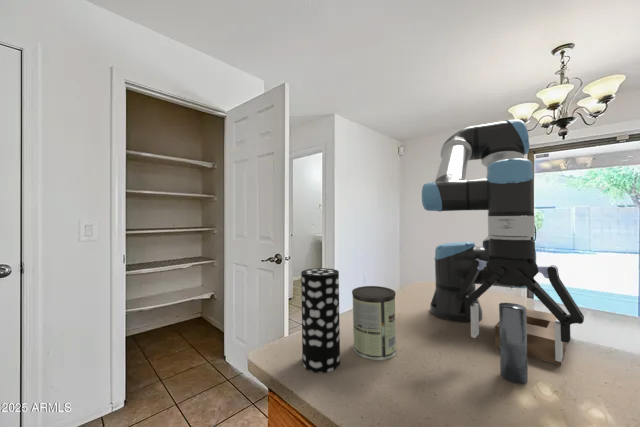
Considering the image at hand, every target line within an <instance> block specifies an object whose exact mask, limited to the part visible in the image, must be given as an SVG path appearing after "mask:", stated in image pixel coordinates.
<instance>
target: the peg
mask: <svg viewBox="0 0 640 427" xmlns="http://www.w3.org/2000/svg"><path fill="white" fill-rule="evenodd" d="M526 309H527V307H526V306H524V305H521V304H517V303H513V302H512V303H511V302H500V303H498V314H499V315H498V318H499V321H498V322H499V328H500V348H499V358H500V359H499V360H500V361H499V366H500V371H499V372H500V376H501V377H502V378H503V379H504V380H505V381H507V382H509V381H510V383H513V384H517V385H526V384H527V382H529V374H528V373H529V372H528V369H529V367H528V365H529V364H528V356H527V320H526Z"/></svg>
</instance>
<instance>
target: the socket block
mask: <svg viewBox="0 0 640 427" xmlns="http://www.w3.org/2000/svg"><path fill="white" fill-rule="evenodd" d="M556 319H557V318H556V317H555V316H554V315H553V314H552V313H551V312H547V311H541V310H535V309H531V308H530V309H529V308H526V320H527V357H531V358H534V359H538V360H541V361H545V362H548V363H550V364H555V365H558V366H562V365H563V364H562V363H563V360H564V357H565V352H566V349H567V345H568V343H566V342H562V346H563V358H562V361H561V362H559V361H556V360H555V321H556ZM557 320H558V319H557ZM494 342H495V347H496V348H499V349H500V328H499V321H498V322H497V323H496V324H495V325H494Z"/></svg>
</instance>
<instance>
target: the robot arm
mask: <svg viewBox="0 0 640 427" xmlns="http://www.w3.org/2000/svg"><path fill="white" fill-rule="evenodd" d="M529 139H530V138H529V132H528V128H527V125H526V123H525V121H523V120H522V119H505V120H504V121H503V120H502V121H498V122H491V123H486V124H479V125H472V126H467V127H465V128H462V129H460V130H459V131H457V132H455V133H454V134H452V135H451V136H449V137H448V138H447V139H446V140H445V141H444V143H443V144H442V147H441V148H440V149H441V150H440V158H441V160H440V164H439V165H438V166H439V167H438V170H437V173H436V177H435V180H434V181H431V182H427V183H424V184H423V185H422V187H421V188H422V189H421V203H422V207H423V209H424V211H426V212H427V211H429V212H454V211H455V212H458V211H459V212H460V211H487V236H486V237H485V238H484V239H483V240H482V246H476V244H475V242H474V241H457V242H456V241H455V242H447V243H441V244H439V245H437V246H436V247H435V249H434V268H435V271H434V272H435V289H434V291H433V292H434V293H433V295H432V298H431V302H430V305H429V306H430V307H429V309H430V314H432V315H434V316H435V317H437V318H440V319H442V320H446V321H449V322H450V321H451V322H457V323H470V337H471V338H474V339H475V338H477V337H478V336H479V335H480V324H479V323H480V321H481V320H482V319H483V318H484V317H483V309H482V306H481V303H480V301H479V298H480V297H481V296H482V295H484V294H485V293H486V292H487V291H488V290H489V289H490V288H491V287H492V286H494V287H503V288H510V289H527V290H529V291H530V292H532V294H534V296H535V297H536V298H537V299H538V300H539V301H540V302H541V303H542V304H543V306H545V308H546V309H547V310H549V313H552V314H553V315H554V316H555V317H556V318H557V319H558V320H557V319H556V321H555V360H556V361H559V362H561V361H562V362H563V360H562V358H563V359H564V356H563V346H562V342H566V343H567V344H569V343H570V341H571V338H572V337H571V325H574V324H579V325H581V324H583V323H584V320H585V316H584V314H583V313H582V311H581V310H580V308H579V306H578V305H577V303H576V302H575V300H574V299H573V297H572V296H571V294H570V292H569V291H568V290H567V287H566V286H565V284H564V283H563V281H562V280H561V277H560V275H559V274H560V273H559V269H558V266H556V265H553V264H551V265H549V266H546V265H545V266H542V265H541V266H540V265H539V266H538V264H537V251H536V242H535V241H534V239H532V238H533V237H535V235H536V234H535V233H536V230H535V228H536V227H535V226H536V224H535V211H534V178H535V174H534V169H533V163H532V161H531V160H530V159H528V158H524V157H525V156H526V155H528V154H529V152H530V141H529ZM475 160H477V161H478V160H481V161H480V162H481V165H483V166H484V167H486V178H478V179H477V178H475V179H466V176H467V169H468V168H467V167H468V162H469V161H475ZM539 273H540V274H541V275H542V276H543V277H544V278H546V279H548V280H549V282H550V285H551V286H552V287H553V289H554V291H555V293H556V294H557V296H558V297H559V299H560V300H561V302H562V304H563V306H564V307H565V308H566V310H567V312H568V313H567V312H566V311H565V310H564V309H563V308H562V307H561V305H559V304H558V303H557V302H556V300H554V299H553V298H552V297H551V296H550V295H549V294H548V293H547V291H546V290H544V288H543V287H542V286H541V285H540V284H539V282H538V281H536V279H535V277H536V276H537V274H539ZM476 285H480V286H479V287H478V288H477V289H476Z"/></svg>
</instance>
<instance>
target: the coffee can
mask: <svg viewBox="0 0 640 427" xmlns="http://www.w3.org/2000/svg"><path fill="white" fill-rule="evenodd" d="M351 295H352V322H353V326H352V327H353V351H354V353H356V355H357V356H359V357H361V358H363V359H366V360H371V361H385V360H389V359H391V358H394V357H395V356H396V354H397V335H396V334H397V333H396V332H397V331H396V329H397V328H396V291H395V290H394V289H391V288H389V287H385V286H377V285H364V286H358V287H356V288H353V289H352V291H351Z"/></svg>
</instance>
